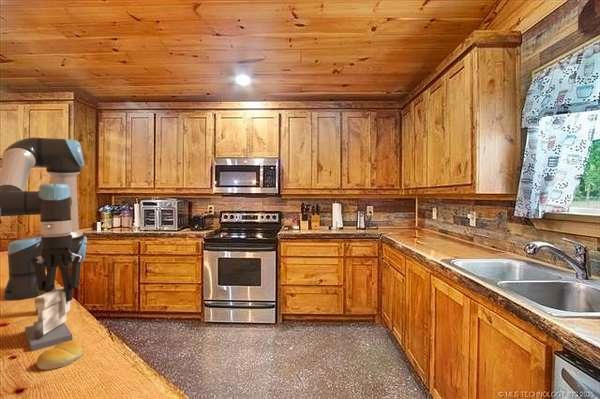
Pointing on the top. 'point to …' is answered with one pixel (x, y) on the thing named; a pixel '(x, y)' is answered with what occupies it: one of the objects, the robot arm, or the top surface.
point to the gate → (49, 312)
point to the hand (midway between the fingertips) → (60, 311)
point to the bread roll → (59, 356)
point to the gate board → (48, 337)
